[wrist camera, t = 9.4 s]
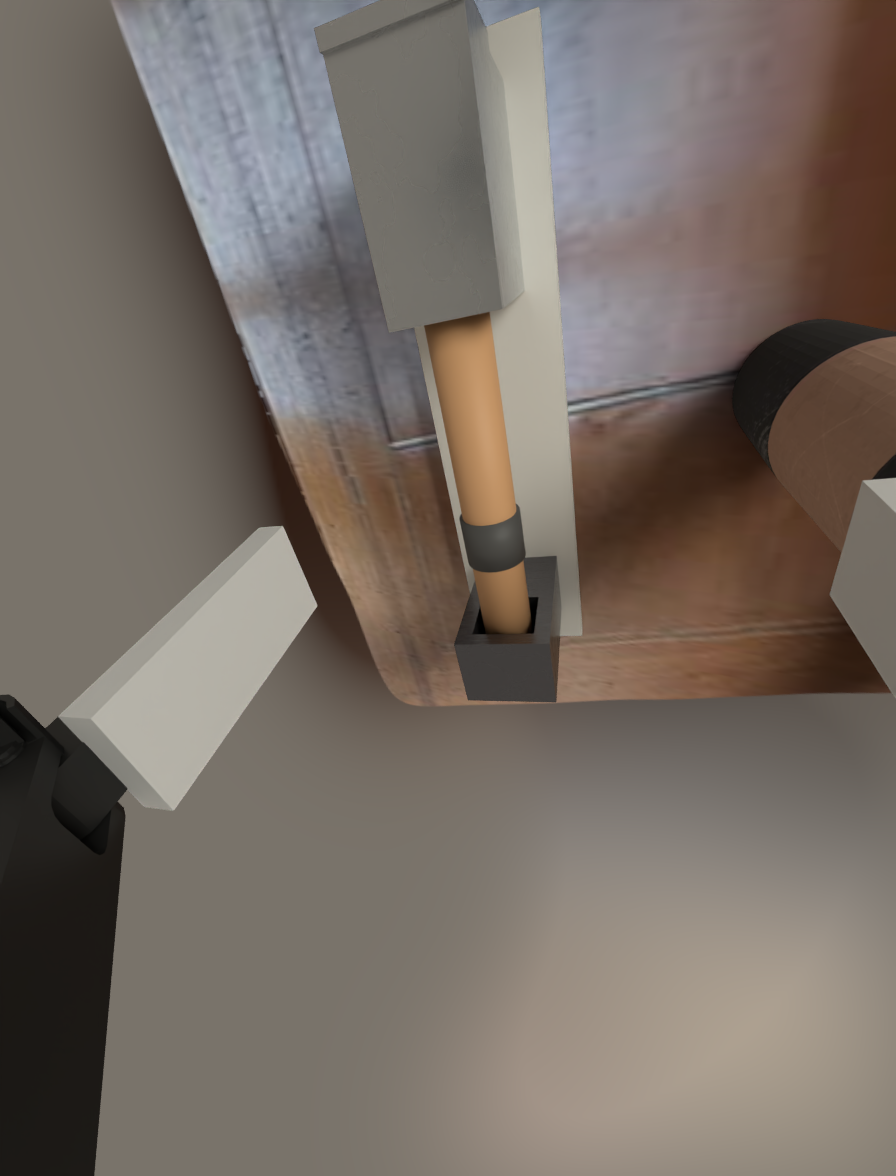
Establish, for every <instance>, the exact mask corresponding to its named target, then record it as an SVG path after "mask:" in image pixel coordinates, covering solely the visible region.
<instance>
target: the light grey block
mask: <svg viewBox="0 0 896 1176" xmlns="http://www.w3.org/2000/svg"><path fill="white" fill-rule="evenodd" d="M314 30H315V34H316V39H317V43H318V47H319V51H320V53H321V54H322V55H323V56H324V60H325V64H326V68H327V72H328V77H329V81H330V85H331V89H332V94H333V98H334V102H335V106H336V111H337V115H338V119H339V123H340V128H341V132H342V136H343V140H344V145H345V149H346V153H347V157H348V162H349V166H350V170H351V174H352V178H353V183H354V187H355V191H356V195H357V200H358V204H359V208H360V212H361V217H362V221H363V225H364V229H365V234H366V238H367V242H368V246H369V251H370V255H371V259H372V263H373V268H374V272H375V276H376V280H377V284H378V289H379V293H380V297H381V301H382V306H383V310H384V314H385V318H386V323H387V327H388V331H389V333H391V332H396V331H400V330H405V329H410V328H415V327H419V326H424V325H429V324H434V323H438V322H443V321H448V320H453V319H458V318H462V317H467V316H472V315H477V314H481V313H486V312H491V311H496V310H500V309H503V308H504V307H506V306H507V305H508V304H509V303H511V302H512V301H513V300H514V299H516V298H517V297H518V296H519V295H520V294H522V293H523V292H524V291H525V288H524V278H523V268H522V258H521V248H520V238H519V228H518V218H517V208H516V198H515V188H514V178H513V168H512V158H511V148H510V138H509V128H508V118H507V108H506V98H505V88H504V80H503V78H502V76H501V74H500V72H499V70H498V68H497V66H496V64H495V61H494V59H493V57H492V55H491V53H490V50H489V41H488V32H487V29H486V26H485V24H484V22H483V20H482V17H481V15H480V13H479V11H478V8H477V6H476V4H475V2H474V0H380V1H377V2H375V3H373V4H370V5H368V6H366V7H363V8H361V9H359V10H356V11H354V12H352V13H349V14H347V15H344V16H342V17H340V18H337V19H335V20H333V21H330V22H328V23H326V24H323V25H321V26H319V27H316V28H314Z"/></svg>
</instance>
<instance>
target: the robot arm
mask: <svg viewBox="0 0 896 1176" xmlns="http://www.w3.org/2000/svg"><path fill="white" fill-rule="evenodd" d="M830 596H831V598H832V599H833V601H834V603H835V604H836V606H837V607H838V609H839V611H840V612H841V614H842V615H843V617H844V618H845V620H846V622H847V623H848V625H849V626H850V628H851V629H852V631H853V633H854V634H855V636H856V637H857V639H858V640H859V642H860V644H861V645H862V647H863V648H864V650H865V652H866V653H867V655H868V656H869V658H870V659H871V661H872V663H873V664H874V666H875V667H876V669H877V670H878V672H879V674H880V675H881V677H882V678H883V680H884V681H885V683H886V685H887V686H888V688H889V689H890V691H891V693H892V694H893V696H894V697H895V699H896V478H888V479H876V480H863V481H862V484H861V487H860V491H859V494H858V498H857V501H856V505H855V508H854V511H853V515H852V518H851V522H850V525H849V529H848V532H847V536H846V539H845V543H844V546H843V550H842V553H841V557H840V560H839V564H838V567H837V571H836V574H835V578H834V581H833V585H832V588H831V592H830ZM316 607H317V604H316V601H315V599H314V597H313V595H312V592H311V590H310V588H309V585H308V583H307V581H306V578H305V576H304V574H303V572H302V569H301V567H300V565H299V562H298V560H297V558H296V555H295V553H294V551H293V548H292V546H291V544H290V541H289V539H288V537H287V535H286V533H285V530H284V528H283V526H275V527H262V528H258V529H257V530H256V531H255V532H254V533H253V534H252V535H251V536H250V537H249V538H248V539H247V540H246V541H244V542H243V543H242V544H241V545H240V546H239V547H238V548H237V549H236V550H235V551H234V552H233V553H232V554H231V555H230V556H228V558H226V559H225V560H224V561H223V562H222V563H221V564H220V565H219V566H218V567H217V568H216V569H215V570H214V571H212V572H211V573H210V574H209V575H208V576H207V577H206V578H205V579H204V580H203V581H202V582H201V583H200V584H199V585H198V586H196V587H195V588H194V589H193V590H192V591H191V592H190V593H189V594H188V595H187V596H186V597H185V598H184V599H183V600H182V601H181V602H179V603H178V604H177V605H176V606H175V607H174V608H173V609H172V610H171V611H170V612H169V613H168V614H167V615H166V616H165V617H163V618H162V619H161V620H160V621H159V622H158V623H157V624H156V625H155V626H154V627H153V628H152V629H151V630H150V631H149V632H148V633H146V634H145V635H144V636H143V637H142V638H141V639H140V640H139V641H138V642H137V643H136V644H135V645H134V646H133V647H131V648H130V649H129V650H128V651H127V652H126V653H125V654H124V655H123V656H122V657H121V658H120V659H119V660H118V661H117V662H115V664H113V665H112V666H111V667H110V668H109V669H108V670H107V671H106V672H105V673H104V674H103V675H102V676H101V677H100V678H98V679H97V680H96V681H95V682H94V683H93V684H92V685H91V686H90V687H89V688H88V689H87V690H86V691H85V692H84V693H83V694H81V695H80V696H79V697H78V698H77V699H76V700H75V701H74V702H73V703H72V704H71V705H70V706H69V707H68V708H66V709H65V710H64V711H63V712H62V713H61V714H60V715H59V716H58V717H57V718H56V719H55V720H54V721H53V722H52V723H51V724H50V725H49V726H48V727H46V728H44V727H43V726H42V725H41V724H40V723H39V722H38V721H37V720H36V719H35V718H34V717H33V716H32V715H31V714H30V713H29V712H28V711H27V710H26V709H25V708H24V707H23V706H22V705H21V704H20V703H19V702H18V701H17V700H16V699H15V698H14V697H12V696H10V695H0V1176H94V1171H95V1160H96V1148H97V1137H98V1126H99V1125H98V1124H99V1114H100V1102H101V1091H102V1080H103V1068H104V1057H105V1045H106V1034H107V1022H108V1011H109V1010H108V1009H109V999H110V987H111V976H112V965H113V952H114V942H115V929H116V918H117V907H118V894H119V884H120V873H121V861H122V849H123V838H124V827H125V811H124V808H123V807H122V806H121V805H120V804H119V803H118V802H117V801H118V800H119V799H120V797H121V796H122V795H123V794H124V793H125V792H126V790H128V791H129V792H130V793H131V794H132V795H133V796H134V797H135V798H136V799H137V800H138V801H139V802H140V803H141V804H142V805H143V806H144V807H149V808H156V809H164V810H171V811H174V809H175V808H176V806H177V805H178V804H179V802H180V801H181V799H182V798H183V797H184V795H185V794H186V792H187V791H188V789H189V788H190V787H191V785H192V784H193V782H194V781H195V780H196V778H197V777H198V775H199V774H200V772H201V771H202V770H203V768H204V767H205V765H206V764H207V762H208V761H209V759H210V758H211V757H212V755H213V754H214V752H215V751H216V749H217V748H218V747H219V745H220V744H221V742H222V741H223V740H224V738H225V737H226V735H227V734H228V732H229V731H230V730H231V728H232V726H233V725H234V724H235V723H236V721H237V720H238V718H239V717H240V715H241V714H242V712H243V711H244V710H245V708H246V707H247V705H248V704H249V702H250V701H251V700H252V698H253V697H254V695H255V694H256V693H257V691H258V690H259V688H260V687H261V686H262V684H263V683H264V681H265V680H266V678H267V677H268V676H269V674H270V673H271V671H272V670H273V668H274V667H275V666H276V664H277V663H278V661H279V660H280V658H281V657H282V656H283V654H284V653H285V651H286V650H287V648H288V647H289V645H290V644H291V643H292V641H293V640H294V638H295V637H296V636H297V634H298V633H299V631H300V630H301V628H302V627H303V626H304V624H305V623H306V621H307V620H308V618H309V617H310V616H311V614H312V613H313V611H314V610H315V608H316Z"/></svg>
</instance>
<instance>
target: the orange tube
mask: <svg viewBox="0 0 896 1176" xmlns="http://www.w3.org/2000/svg"><path fill="white" fill-rule="evenodd" d="M424 328H425V333H426V338H427V343H428V348H429V353H430V358H431V363H432V368H433V373H434V378H435V383H436V388H437V393H438V398H439V403H440V408H441V413H442V418H443V423H444V428H445V433H446V438H447V443H448V448H449V453H450V458H451V463H452V468H453V473H454V478H455V483H456V488H457V493H458V498H459V503H460V508H461V513H462V514H461V515H460V517H459V520H460V525H461V529H462V534H463V539H464V544H465V549H466V554H467V559H468V563H469V566H470V567H471V568H473V572H474V577H475V582H476V587H477V592H478V597H479V602H480V607H481V612H482V617H483V622H484V627H485V632H486V634H533V627H532V620H531V613H530V605H529V598H528V591H527V583H526V576H525V569H524V561H523V560H524V558H525V556H526V551H525V544H524V536H523V529H522V521H521V513H520V507H519V506H518V505H517V504H516V502H515V495H514V487H513V480H512V473H511V465H510V458H509V451H508V443H507V436H506V428H505V421H504V414H503V406H502V399H501V392H500V384H499V377H498V370H497V362H496V355H495V347H494V340H493V333H492V325H491V318H490V312H486V313H481V314H477V315H472V316H467V317H462V318H458V319H453V320H448V321H443V322H438V323H434V324H429V325H424Z"/></svg>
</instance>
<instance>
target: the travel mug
mask: <svg viewBox="0 0 896 1176" xmlns="http://www.w3.org/2000/svg"><path fill="white" fill-rule="evenodd" d="M732 404H733V411H734V414H735V417H736V419H737V421H738V423H739V425H740V427H741V428H742V430H743V431H744V433H745V434H746V436H747V437H748V438H749V440H750V441H751V443H752V444H753V445H754V447H755V448H756V450H757V451H758V452H759V454H760V455H761V457H762V458H763V459H764V461H765V462H766V464H767V465H768V467H769V468H770V469H771V471H772V472H773V474H774V475H775V476H776V477H777V479H778V480H779V481H780V483H781V484H782V485H783V486H784V487H785V488H786V490H787V491H788V492H789V493H790V494H791V495H792V496H793V498H794V499H795V500H796V501H797V502H798V503H799V504H800V506H801V507H802V508H803V509H804V510H805V511H806V512H807V514H808V515H809V516H810V517H811V518H812V519H813V520H814V522H815V523H816V524H817V525H818V526H819V527H820V529H821V530H822V531H823V532H824V533H825V534H826V535H827V537H828V538H829V539H830V540H831V541H832V542H833V543H834V545H835V546H836V547H837V548H838V549H839V550H840V551H841V553H842V550H843V546H844V543H845V539H846V536H847V532H848V529H849V525H850V522H851V518H852V515H853V511H854V508H855V505H856V501H857V498H858V494H859V491H860V487H861V484H862V481H863V480H876V479H888V478H896V332H893V331H888V330H883V329H878V328H873V327H868V326H864V325H859V324H854V323H849V322H844V321H838V320H828V319H816V320H809V321H804V322H800V323H797V324H794V325H792V326H789V327H787V328H785V329H783V330H781V331H779V332H777V333H775V334H774V335H772V336H771V337H769V338H768V339H767V340H765V341H764V342H763V343H762V344H761V345H760V346H759V347H757V348H756V349H755V350H754V351H753V353H752V354H751V355H750V356H749V357H748V359H747V360H746V362H745V363H744V365H743V366H742V368H741V370H740V372H739V374H738V376H737V379H736V381H735V385H734V389H733V396H732Z"/></svg>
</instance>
